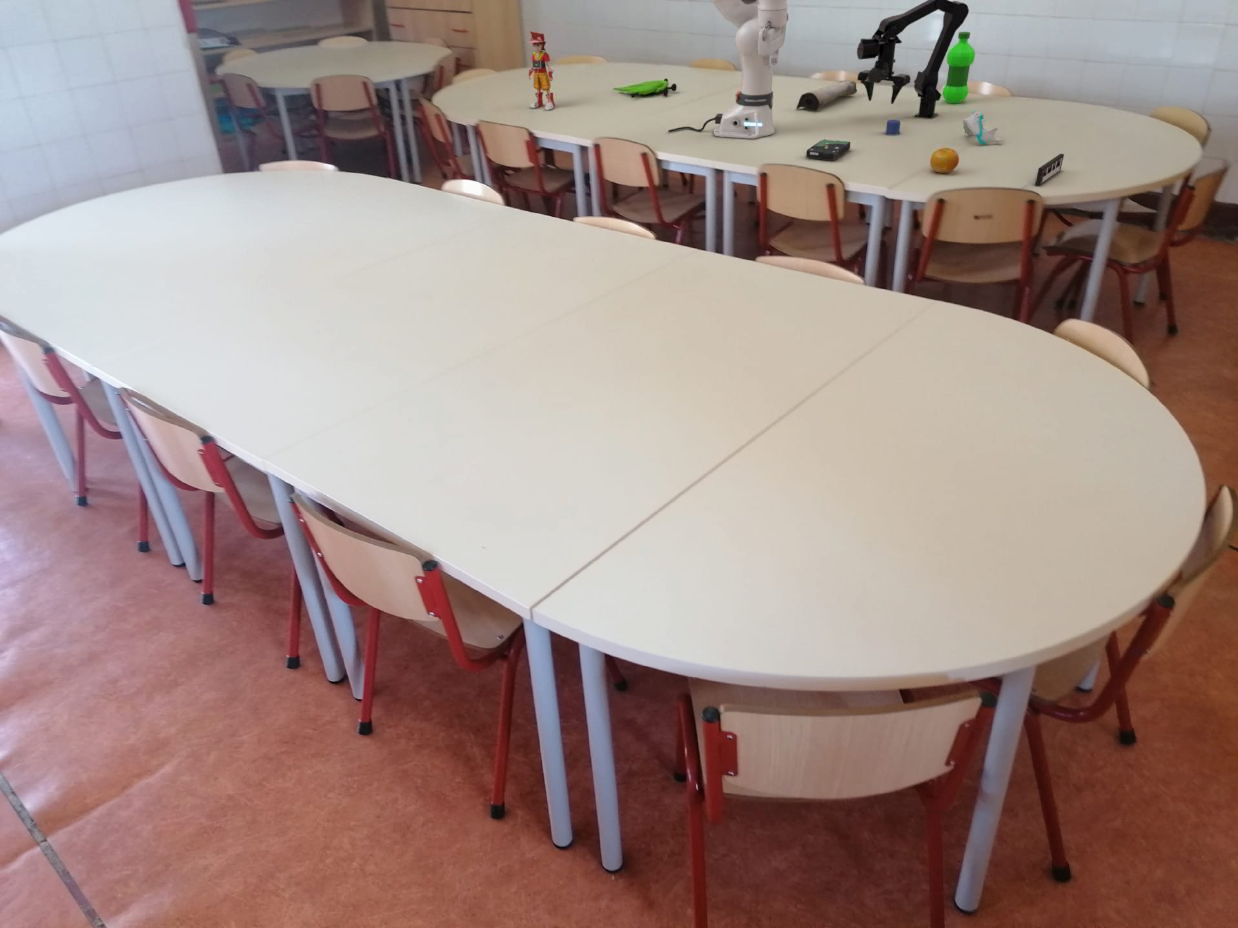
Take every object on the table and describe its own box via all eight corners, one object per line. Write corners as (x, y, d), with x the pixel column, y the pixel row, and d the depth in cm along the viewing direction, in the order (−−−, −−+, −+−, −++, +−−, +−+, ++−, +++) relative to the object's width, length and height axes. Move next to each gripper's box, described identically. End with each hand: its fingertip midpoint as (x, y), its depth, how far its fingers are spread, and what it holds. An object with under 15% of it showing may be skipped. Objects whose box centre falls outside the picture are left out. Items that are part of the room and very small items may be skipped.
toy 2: (686, 85, 398) (631, 84, 414) (685, 72, 395) (629, 72, 411) (651, 104, 381) (596, 103, 397) (650, 92, 378) (594, 91, 394)
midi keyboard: (1039, 185, 269) (1043, 168, 266) (1035, 184, 270) (1038, 168, 267) (1060, 170, 279) (1064, 154, 277) (1056, 169, 280) (1060, 153, 277)
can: (897, 135, 321) (899, 123, 319) (884, 134, 323) (886, 122, 321) (900, 132, 325) (901, 120, 322) (887, 131, 326) (888, 119, 324)
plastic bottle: (973, 101, 354) (984, 32, 339) (955, 106, 349) (966, 36, 335) (952, 97, 361) (962, 29, 346) (934, 102, 356) (944, 33, 342)
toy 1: (525, 109, 381) (517, 32, 364) (534, 104, 388) (527, 28, 371) (550, 110, 377) (543, 32, 360) (559, 105, 384) (553, 28, 367)
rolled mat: (832, 85, 375) (848, 69, 367) (844, 103, 376) (861, 88, 367) (792, 103, 358) (809, 87, 350) (805, 122, 358) (822, 107, 350)
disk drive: (834, 162, 299) (850, 149, 309) (835, 153, 297) (851, 141, 307) (805, 158, 304) (821, 146, 314) (806, 150, 302) (822, 138, 312)
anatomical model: (956, 110, 312) (985, 102, 311) (957, 139, 318) (985, 132, 317) (974, 121, 300) (1004, 113, 299) (974, 151, 306) (1003, 144, 305)
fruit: (924, 163, 281) (941, 140, 278) (925, 165, 289) (941, 143, 286) (946, 178, 280) (963, 155, 277) (947, 180, 288) (963, 158, 285)
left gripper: (774, 25, 266) (772, 75, 273) (789, 13, 281) (787, 61, 289) (753, 25, 268) (752, 74, 275) (770, 13, 283) (768, 60, 291)
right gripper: (851, 59, 327) (847, 103, 336) (898, 64, 316) (893, 110, 325) (867, 53, 333) (863, 97, 342) (913, 58, 323) (907, 103, 331)
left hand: (770, 67), depth 282 cm, fingers open, 8 cm apart
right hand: (881, 102), depth 335 cm, fingers open, 9 cm apart
